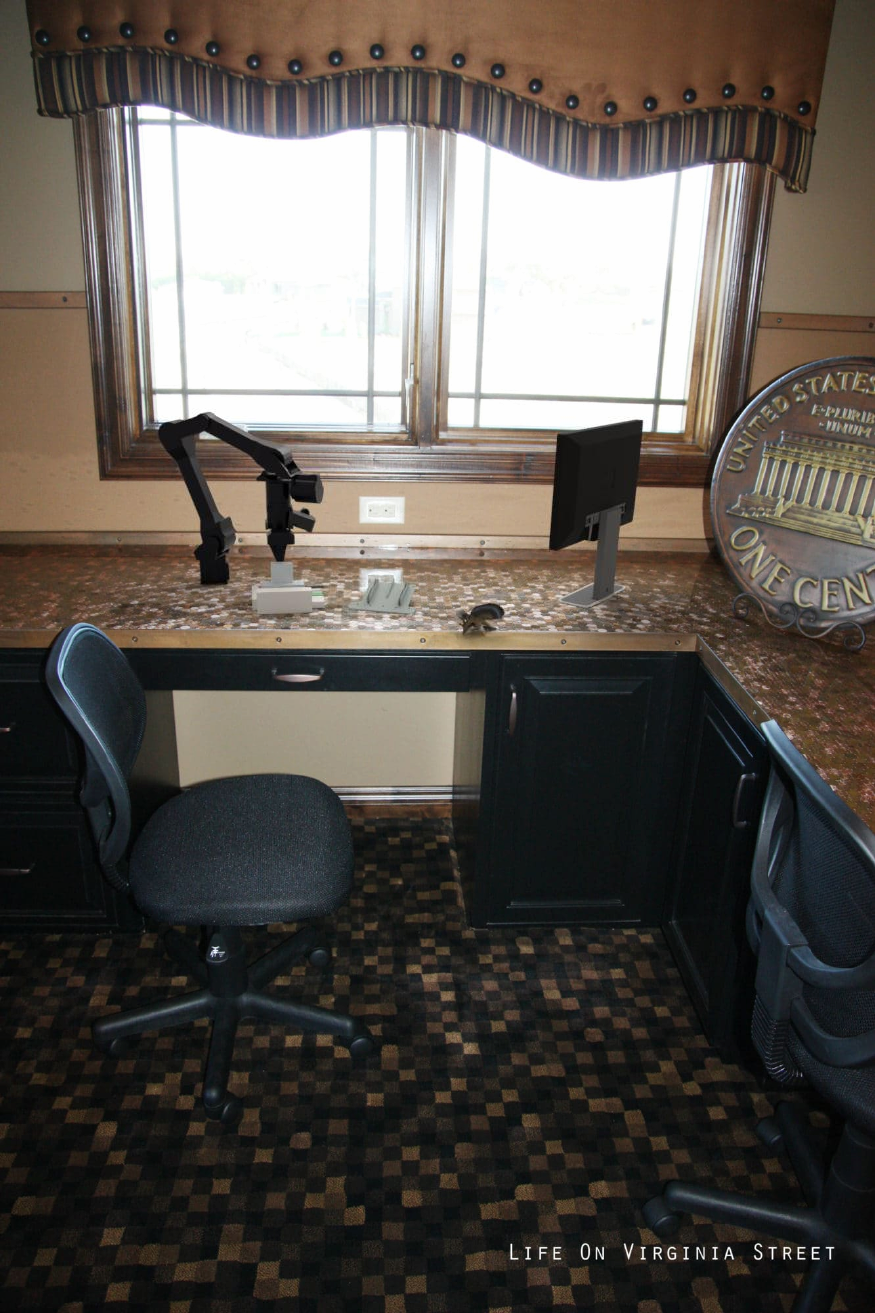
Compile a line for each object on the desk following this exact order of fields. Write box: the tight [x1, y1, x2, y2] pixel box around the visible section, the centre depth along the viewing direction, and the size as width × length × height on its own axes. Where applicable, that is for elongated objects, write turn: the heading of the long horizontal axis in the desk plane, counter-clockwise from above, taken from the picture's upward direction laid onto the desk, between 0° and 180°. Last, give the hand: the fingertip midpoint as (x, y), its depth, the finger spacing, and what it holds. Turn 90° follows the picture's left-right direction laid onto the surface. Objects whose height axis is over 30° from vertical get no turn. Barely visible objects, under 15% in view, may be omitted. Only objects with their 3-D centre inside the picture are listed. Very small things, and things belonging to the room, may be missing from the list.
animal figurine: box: [455, 602, 506, 636], centre depth 194 cm, size 8×7×9 cm
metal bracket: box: [348, 577, 417, 616], centre depth 210 cm, size 14×6×15 cm
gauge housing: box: [251, 584, 326, 615], centre depth 208 cm, size 16×14×5 cm
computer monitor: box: [548, 418, 644, 609], centre depth 215 cm, size 41×8×40 cm, turn 145°
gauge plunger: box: [259, 561, 325, 589], centre depth 212 cm, size 14×4×8 cm, turn 101°
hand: (280, 565), depth 219 cm, fingers closed
